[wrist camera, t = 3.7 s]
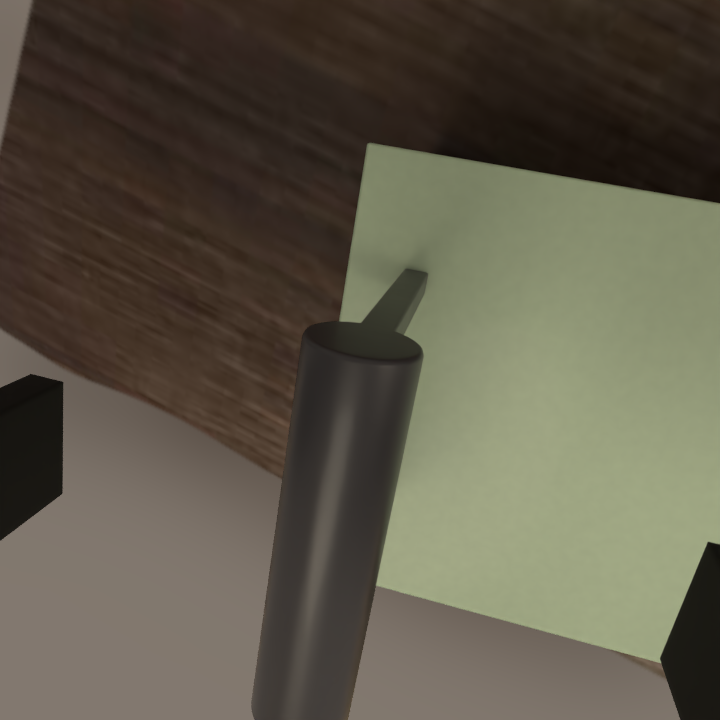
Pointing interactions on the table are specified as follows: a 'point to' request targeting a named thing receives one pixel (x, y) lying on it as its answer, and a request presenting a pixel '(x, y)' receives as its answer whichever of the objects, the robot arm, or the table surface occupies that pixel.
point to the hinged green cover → (498, 419)
